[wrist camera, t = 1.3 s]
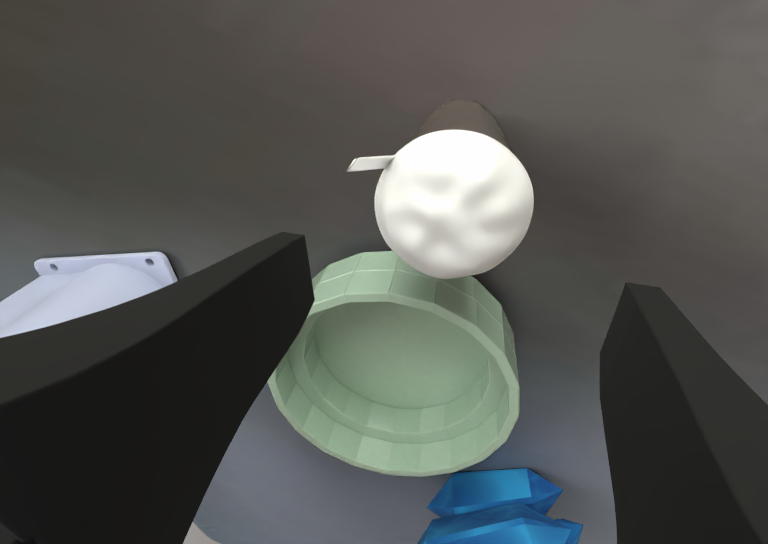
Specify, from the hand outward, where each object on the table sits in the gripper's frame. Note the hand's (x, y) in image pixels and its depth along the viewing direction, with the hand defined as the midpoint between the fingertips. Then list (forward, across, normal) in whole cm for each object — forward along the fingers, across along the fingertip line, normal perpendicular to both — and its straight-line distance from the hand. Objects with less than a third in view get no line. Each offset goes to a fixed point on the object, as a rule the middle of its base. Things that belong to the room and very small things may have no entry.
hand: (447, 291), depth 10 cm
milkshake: (+12, +2, 0) cm, 12 cm away
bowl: (+10, +4, +12) cm, 17 cm away
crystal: (+10, -2, +25) cm, 27 cm away
